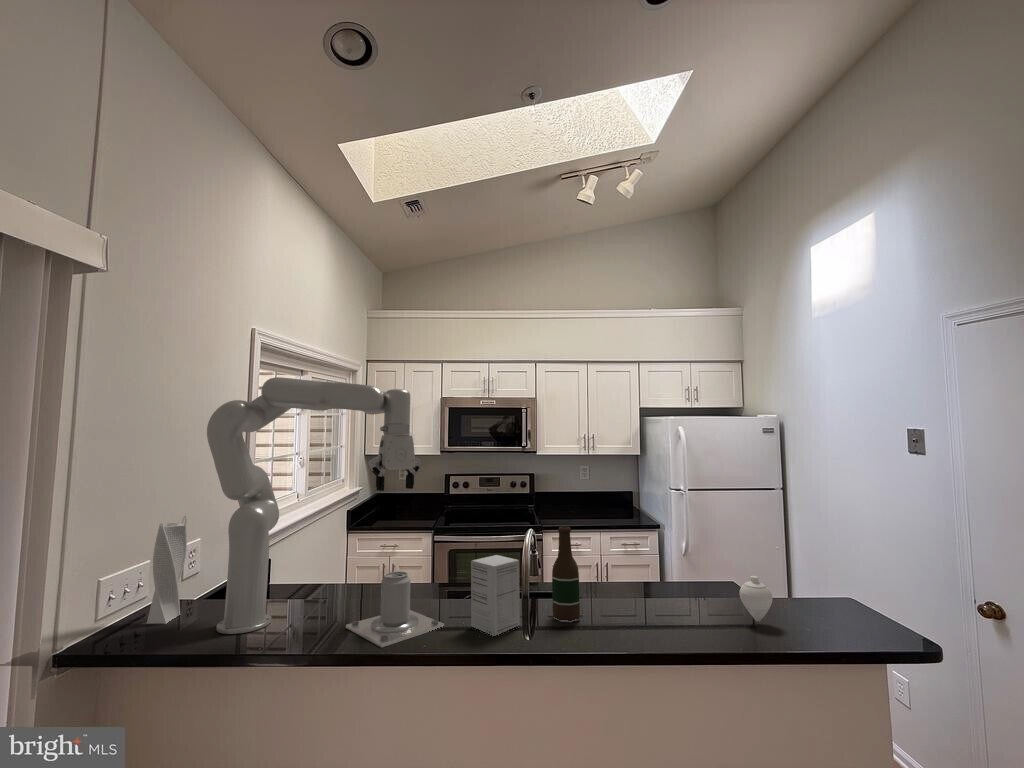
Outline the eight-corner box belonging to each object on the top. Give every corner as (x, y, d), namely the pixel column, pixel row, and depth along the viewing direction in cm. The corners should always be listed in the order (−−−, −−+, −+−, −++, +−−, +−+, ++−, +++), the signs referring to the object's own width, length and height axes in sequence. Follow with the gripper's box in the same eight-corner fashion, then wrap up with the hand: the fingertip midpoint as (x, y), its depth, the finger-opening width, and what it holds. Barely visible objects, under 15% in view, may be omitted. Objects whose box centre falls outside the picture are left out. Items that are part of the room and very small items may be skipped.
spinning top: (768, 633, 115) (763, 582, 117) (736, 624, 121) (732, 576, 123) (779, 625, 120) (775, 576, 122) (749, 617, 126) (745, 571, 128)
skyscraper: (190, 616, 132) (198, 514, 136) (168, 626, 124) (178, 518, 128) (160, 616, 132) (170, 514, 136) (137, 626, 124) (148, 518, 128)
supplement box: (497, 618, 127) (496, 554, 129) (521, 627, 120) (520, 559, 123) (469, 628, 120) (470, 559, 123) (493, 637, 114) (493, 565, 116)
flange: (345, 627, 121) (346, 621, 121) (406, 611, 134) (406, 605, 134) (381, 647, 108) (381, 640, 109) (443, 627, 121) (444, 620, 121)
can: (414, 617, 124) (415, 570, 126) (402, 628, 117) (403, 577, 118) (388, 616, 125) (389, 569, 127) (374, 626, 118) (376, 576, 120)
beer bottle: (585, 616, 128) (582, 526, 131) (573, 625, 121) (571, 530, 125) (560, 611, 132) (558, 524, 136) (547, 620, 125) (545, 527, 129)
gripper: (376, 429, 130) (374, 492, 128) (428, 431, 143) (427, 488, 140) (363, 430, 136) (361, 490, 133) (414, 432, 148) (413, 487, 145)
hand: (395, 489), depth 137 cm, fingers open, 9 cm apart
